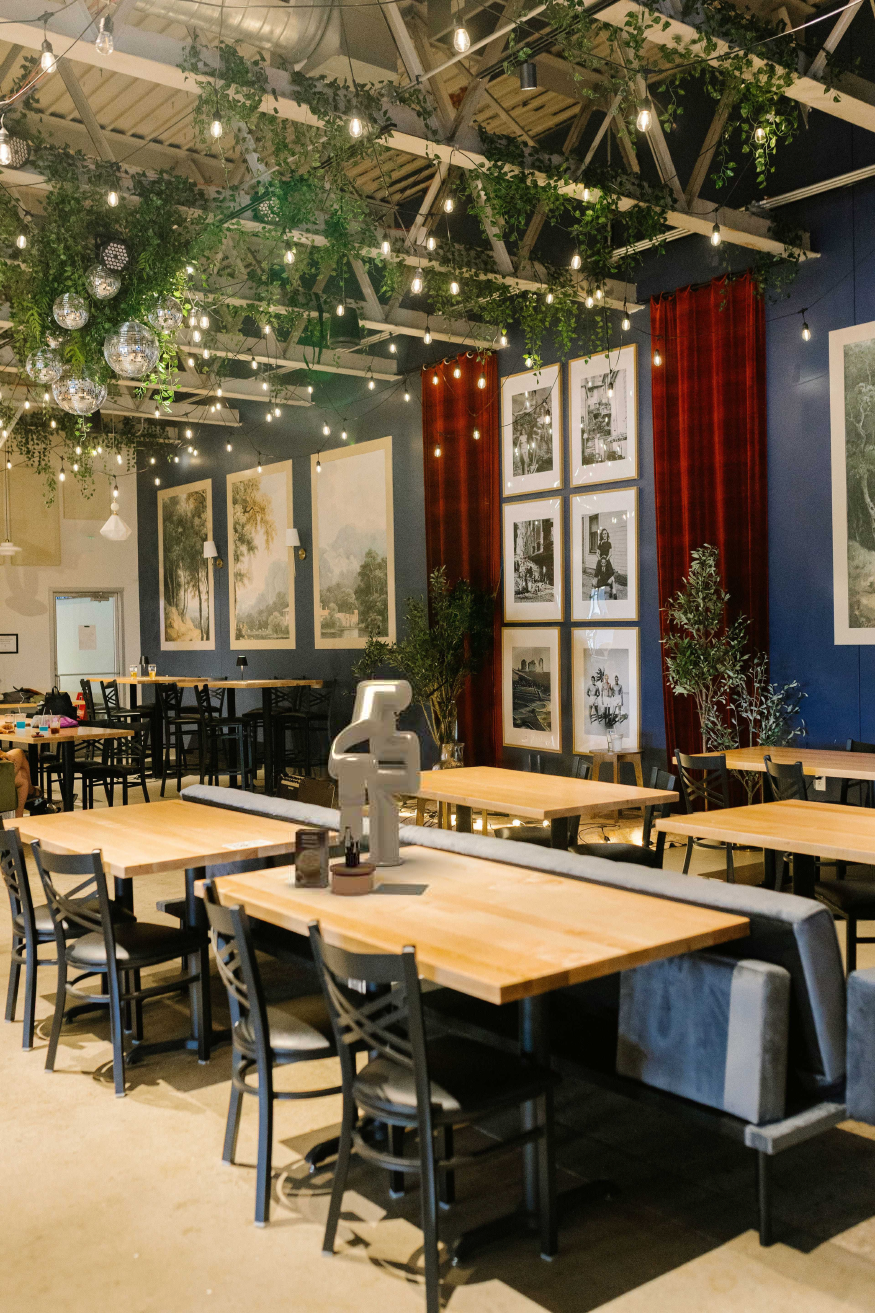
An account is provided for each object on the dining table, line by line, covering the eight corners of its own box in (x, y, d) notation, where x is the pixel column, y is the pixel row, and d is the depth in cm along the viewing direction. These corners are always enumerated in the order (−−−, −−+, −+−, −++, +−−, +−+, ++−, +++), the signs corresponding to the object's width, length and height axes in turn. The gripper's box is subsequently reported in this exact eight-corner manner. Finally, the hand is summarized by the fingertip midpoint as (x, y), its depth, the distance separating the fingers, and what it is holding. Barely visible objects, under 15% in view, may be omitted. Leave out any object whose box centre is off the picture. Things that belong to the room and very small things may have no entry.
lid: (335, 865, 306) (335, 844, 306) (380, 866, 304) (379, 845, 304) (324, 874, 293) (324, 852, 293) (370, 875, 291) (370, 853, 291)
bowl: (338, 888, 305) (338, 868, 305) (376, 888, 303) (376, 869, 303) (328, 896, 294) (328, 876, 294) (367, 897, 292) (367, 877, 292)
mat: (381, 885, 308) (381, 883, 308) (429, 886, 306) (429, 884, 306) (371, 895, 295) (371, 894, 295) (421, 896, 292) (421, 895, 292)
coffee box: (294, 887, 306) (293, 831, 306) (299, 883, 312) (298, 828, 312) (325, 888, 305) (325, 832, 305) (329, 883, 311) (329, 828, 311)
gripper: (345, 796, 307) (346, 860, 307) (331, 804, 291) (332, 871, 291) (371, 797, 306) (371, 861, 306) (358, 804, 290) (359, 872, 290)
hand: (352, 865), depth 299 cm, fingers closed on lid, 2 cm apart
